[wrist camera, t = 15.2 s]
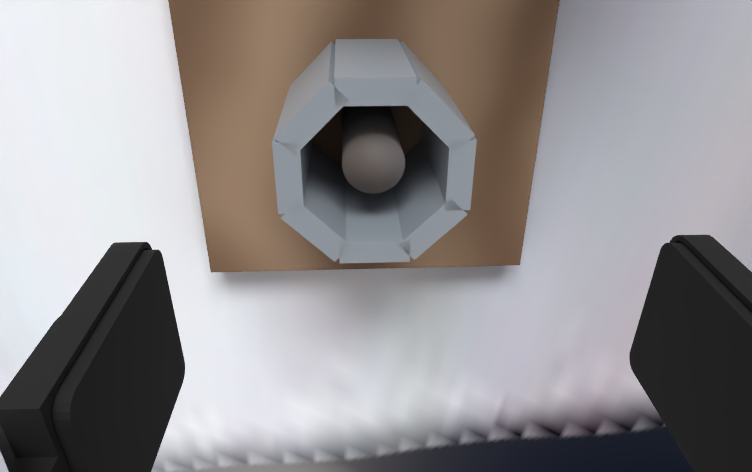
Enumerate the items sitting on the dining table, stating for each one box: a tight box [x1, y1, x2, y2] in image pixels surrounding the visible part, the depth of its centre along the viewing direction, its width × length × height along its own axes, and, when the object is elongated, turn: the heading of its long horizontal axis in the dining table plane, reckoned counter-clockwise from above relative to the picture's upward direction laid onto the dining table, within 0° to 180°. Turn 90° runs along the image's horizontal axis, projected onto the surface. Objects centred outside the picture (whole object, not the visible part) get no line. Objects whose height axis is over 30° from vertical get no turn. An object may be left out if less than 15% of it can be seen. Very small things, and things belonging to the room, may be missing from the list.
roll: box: [272, 39, 477, 263], centre depth 20 cm, size 6×6×6 cm
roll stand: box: [168, 0, 559, 272], centre depth 21 cm, size 14×14×6 cm
